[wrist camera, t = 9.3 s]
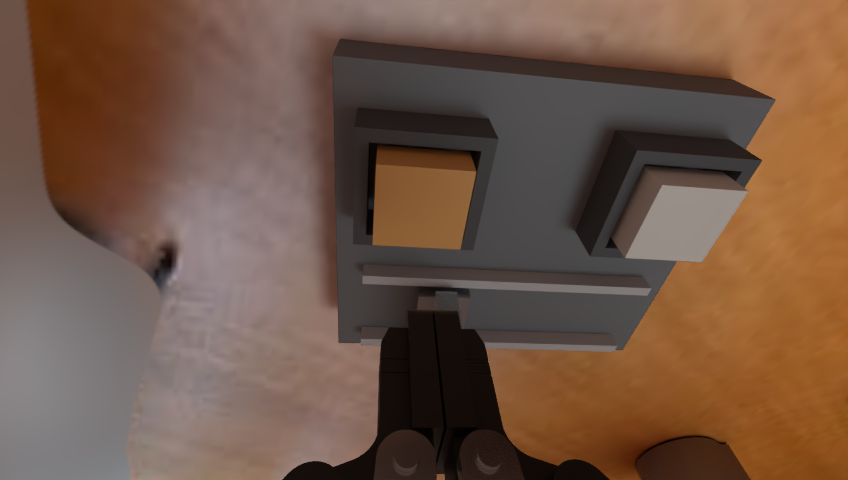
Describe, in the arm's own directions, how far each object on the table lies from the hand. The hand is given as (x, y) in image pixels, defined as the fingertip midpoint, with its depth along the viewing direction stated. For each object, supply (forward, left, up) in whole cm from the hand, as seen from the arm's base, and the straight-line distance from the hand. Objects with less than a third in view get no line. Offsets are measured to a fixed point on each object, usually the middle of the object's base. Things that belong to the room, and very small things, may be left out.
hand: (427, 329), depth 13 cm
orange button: (0, 0, -8) cm, 8 cm away
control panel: (-6, +4, -13) cm, 15 cm away
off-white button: (-12, 0, -8) cm, 15 cm away
